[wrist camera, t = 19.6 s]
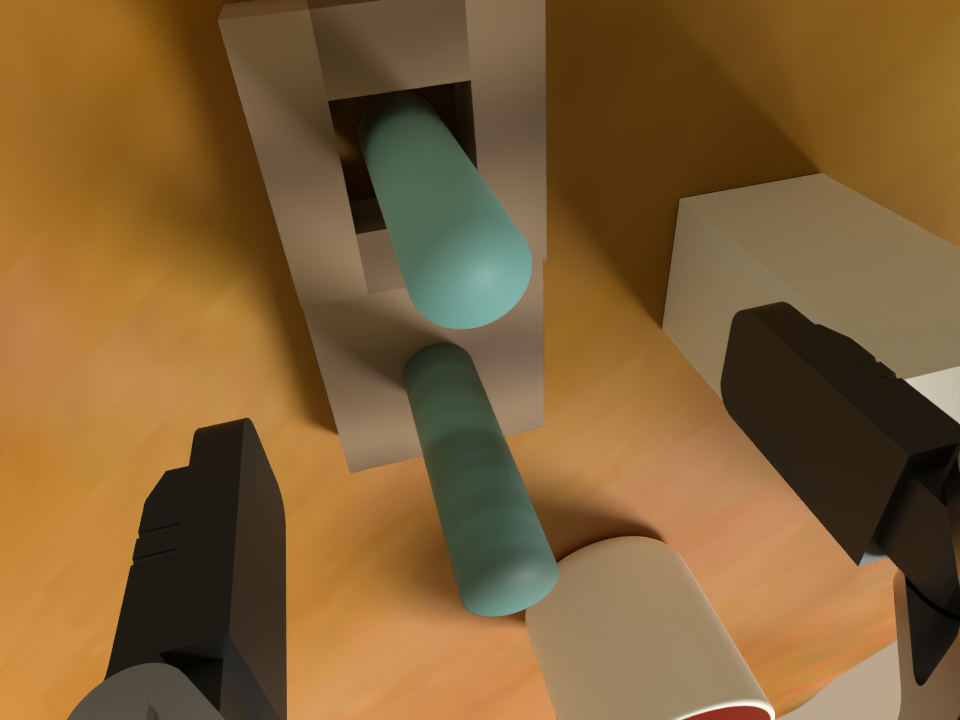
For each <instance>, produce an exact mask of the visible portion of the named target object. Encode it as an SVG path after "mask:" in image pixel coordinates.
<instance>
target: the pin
mask: <svg viewBox="0 0 960 720" xmlns="http://www.w3.org/2000/svg"><path fill="white" fill-rule="evenodd" d="M358 139H359V144H360V148H361V151H362V154H363V157H364V160H365V163H366V166H367V169H368V172H369V175H370V178H371V181H372V184H373V187H374V190H375V193H376V196H377V199H378V202H379V206H380V209H381V212H382V215H383V218H384V221H385V224H386V227H387V230H388V233H389V236H390V239H391V242H392V245H393V248H394V251H395V254H396V257H397V260H398V263H399V266H400V269H401V273H402V276H403V279H404V282H405V285H406V288H407V291H408V294H409V297H410V299H411V301H412V303H413V305H414V306H415V308H416V309H417V310H418V311H419V312H420V314H421V315H423V316H424V317H425V318H426V319H428V320H429V321H431V322H433V323H435V324H437V325H439V326H443V327H446V328H451V329H471V328H476V327H480V326H484V325H486V324H489V323H491V322H493V321H495V320H497V319H499V318H500V317H502V316H503V315H505V314H506V313H507V312H508V311H510V310H511V309H512V308H513V307H514V306H515V305H516V304H517V303H518V301H519V300H520V298H521V297H522V296H523V294H524V292H525V290H526V288H527V286H528V283H529V280H530V277H531V271H532V258H531V252H530V249H529V246H528V244H527V242H526V240H525V238H524V237H523V235H522V234H521V233H520V231H519V230H518V228H517V227H516V225H515V224H514V222H513V221H512V220H511V218H510V217H509V215H508V214H507V212H506V211H505V210H504V208H503V207H502V205H501V204H500V202H499V201H498V200H497V198H496V197H495V195H494V194H493V192H492V191H491V190H490V188H489V187H488V185H487V184H486V182H485V181H484V179H483V178H482V177H481V175H480V174H479V172H478V171H477V169H476V168H475V167H474V165H473V164H472V162H471V161H470V159H469V158H468V157H467V155H466V154H465V152H464V151H463V149H462V148H461V147H460V145H459V144H458V142H457V141H456V139H455V138H454V136H453V135H452V134H451V132H450V131H449V129H448V128H447V126H446V125H445V124H444V122H443V121H442V119H441V118H440V116H439V115H438V114H437V112H436V111H435V109H434V108H433V106H432V105H431V104H430V103H429V102H428V101H427V100H425V99H424V98H422V97H421V96H419V95H417V94H415V93H411V92H407V91H393V92H389V93H386V94H383V95H381V96H380V97H378V98H376V99H375V100H374V101H373V102H371V104H370V105H369V106H368V107H367V108H366V110H365V111H364V113H363V115H362V117H361V120H360V123H359V129H358Z"/></svg>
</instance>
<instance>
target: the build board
mask: <svg viewBox="0 0 960 720" xmlns="http://www.w3.org/2000/svg"><path fill="white" fill-rule="evenodd" d="M217 21H218V24H219V28H220V31H221V35H222V38H223V42H224V45H225V49H226V52H227V55H228V59H229V62H230V66H231V69H232V73H233V76H234V80H235V83H236V86H237V90H238V93H239V97H240V100H241V104H242V107H243V111H244V114H245V117H246V121H247V124H248V128H249V131H250V135H251V138H252V141H253V145H254V148H255V152H256V155H257V159H258V162H259V166H260V169H261V172H262V176H263V179H264V183H265V186H266V190H267V193H268V197H269V200H270V203H271V207H272V210H273V214H274V217H275V221H276V224H277V228H278V231H279V234H280V238H281V241H282V245H283V248H284V252H285V255H286V259H287V262H288V265H289V269H290V272H291V276H292V279H293V283H294V286H295V290H296V293H297V296H298V300H299V303H300V307H301V308H305V307H310V306H315V305H320V304H325V303H330V302H336V301H341V300H346V299H351V298H356V297H361V296H366V295H371V294H377V293H382V292H387V291H392V290H397V289H402V288H406V285H405V282H404V279H403V276H402V273H401V269H400V266H399V263H398V260H397V257H396V254H395V251H394V248H393V245H392V242H391V239H390V236H389V233H388V230H387V227H386V224H385V221H384V218H383V215H382V212H381V209H380V206H379V202H378V199H377V197H375V198H369V199H363V200H358V201H352V202H349V200H348V195H347V190H346V185H345V180H344V176H343V171H342V166H341V161H340V156H339V152H338V147H337V142H336V137H335V133H334V128H333V123H332V118H331V113H330V109H329V104H328V101H331V100H338V99H345V98H352V97H359V96H366V95H373V94H379V93H386V92H393V91H400V90H407V89H414V88H421V87H427V86H434V85H441V84H448V83H453V84H454V95H455V106H456V117H457V128H458V139H459V145H460V147H461V148H462V149H463V151H464V152H465V154H466V155H467V157H468V158H469V159H470V161H471V162H472V164H473V165H474V167H475V168H476V169H477V171H478V172H479V174H480V175H481V177H482V178H483V179H484V181H485V182H486V184H487V185H488V187H489V188H490V190H491V191H492V192H493V194H494V195H495V197H496V198H497V200H498V201H499V202H500V204H501V205H502V207H503V208H504V210H505V211H506V212H507V214H508V215H509V217H510V218H511V220H512V221H513V222H514V224H515V225H516V227H517V228H518V230H519V231H520V233H521V234H522V235H523V237H524V238H525V240H526V242H527V244H528V246H529V249H530V252H531V258H532V263H535V262H541V261H546V260H547V183H546V0H253V1H245V2H236V3H228V4H223V6H222V9H221V12H220V15H219V18H218V20H217Z"/></svg>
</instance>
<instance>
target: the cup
mask: <svg viewBox="0 0 960 720" xmlns="http://www.w3.org/2000/svg"><path fill="white" fill-rule="evenodd" d="M557 565H558V568H559V578H558V581H557V583H556V585H555V586H554V588H553V589H552V590H551V591H550V593H549V594H547V595H546V596H545V597H544V598H543V599H542V600H540V601H539V602H537V603H536V604H534V605H532V606H531V607H528V608H526V613H525V621H526V628H527V632H528V635H529V638H530V641H531V644H532V647H533V650H534V652H535V655H536V658H537V661H538V664H539V667H540V670H541V673H542V676H543V679H544V682H545V685H546V688H547V691H548V694H549V697H550V700H551V703H552V706H553V709H554V712H555V714H556V717H557V720H775V712H774V709H773V707H772V705H771V704H770V702H769V700H768V699H767V697H766V695H765V694H764V692H763V690H762V689H761V687H760V685H759V684H758V682H757V680H756V679H755V677H754V675H753V674H752V672H751V670H750V669H749V667H748V665H747V664H746V662H745V660H744V659H743V657H742V655H741V654H740V652H739V650H738V649H737V647H736V645H735V644H734V642H733V641H732V639H731V637H730V636H729V634H728V632H727V631H726V629H725V627H724V626H723V624H722V622H721V621H720V619H719V617H718V616H717V614H716V612H715V611H714V609H713V607H712V606H711V604H710V602H709V601H708V599H707V597H706V596H705V594H704V592H703V591H702V589H701V587H700V586H699V584H698V582H697V581H696V579H695V577H694V576H693V574H692V572H691V571H690V569H689V567H688V566H687V564H686V563H685V561H684V559H683V558H682V557H681V555H680V554H679V553H678V552H677V551H676V550H674V549H673V548H672V547H670V546H669V545H667V544H665V543H664V542H661V541H659V540H656V539H652V538H648V537H642V536H624V537H616V538H610V539H606V540H602V541H599V542H596V543H593V544H590V545H588V546H586V547H583V548H581V549H579V550H577V551H575V552H573V553H572V554H570V555H568V556H567V557H565V558H563V559H562V560H561V561H559V562H558V563H557Z"/></svg>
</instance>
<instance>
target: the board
mask: <svg viewBox="0 0 960 720" xmlns="http://www.w3.org/2000/svg"><path fill="white" fill-rule="evenodd" d="M302 309H303V312H304V316H305V319H306V322H307V326H308V329H309V333H310V336H311V340H312V343H313V347H314V350H315V354H316V357H317V361H318V364H319V367H320V371H321V374H322V378H323V381H324V385H325V388H326V392H327V395H328V399H329V402H330V406H331V409H332V412H333V416H334V419H335V423H336V426H337V430H338V433H339V437H340V440H341V444H342V447H343V451H344V454H345V458H346V461H347V464H348V468H349V471H350V473H354V472H358V471H362V470H366V469H371V468H375V467H379V466H383V465H387V464H392V463H396V462H400V461H404V460H408V459H413V458H417V457H421V456H423V457H424V460H425V464H426V468H427V472H428V476H429V479H430V483H431V487H432V491H433V495H434V498H435V502H436V506H437V510H438V514H439V517H440V521H441V525H442V529H443V533H444V536H445V540H446V544H447V548H448V552H449V555H450V559H451V563H452V567H453V571H454V574H455V578H456V582H457V586H458V590H459V593H460V597H461V601H462V604H463V606H464V607H465V608H466V609H467V610H468V611H469V612H471V613H473V614H476V615H479V616H486V617H497V616H504V615H509V614H513V613H516V612H519V611H522V610H524V609H526V608H528V607H531V606H532V605H534V604H536V603H537V602H539V601H540V600H542V599H543V598H544V597H545V596H546V595H547V594H549V593H550V591H551V590H552V589H553V588H554V586H555V585H556V583H557V581H558V578H559V568H558V565H557V563H556V560H555V558H554V555H553V553H552V551H551V548H550V546H549V543H548V541H547V538H546V536H545V534H544V531H543V529H542V526H541V524H540V522H539V519H538V517H537V514H536V512H535V510H534V507H533V505H532V502H531V500H530V498H529V495H528V493H527V490H526V488H525V485H524V483H523V481H522V478H521V476H520V473H519V471H518V469H517V466H516V464H515V461H514V459H513V457H512V454H511V452H510V449H509V447H508V444H507V442H506V440H505V436H509V435H513V434H518V433H522V432H526V431H530V430H534V429H539V428H543V427H545V420H544V316H543V261H541V262H535V263H532V271H531V277H530V280H529V283H528V286H527V288H526V290H525V292H524V294H523V296H522V297H521V298H520V300H519V301H518V303H517V304H516V305H515V306H514V307H513V308H512V309H511V310H510V311H508V312H507V313H506V314H505V315H503V316H502V317H500V318H499V319H497V320H495V321H493V322H491V323H489V324H486V325H484V326H480V327H476V328H471V329H451V328H446V327H443V326H439V325H437V324H435V323H433V322H431V321H429V320H428V319H426V318H425V317H424V316H423V315H421V314H420V312H419V311H418V310H417V309H416V308H415V306H414V305H413V303H412V301H411V299H410V297H409V294H408V291H407V288H402V289H397V290H392V291H387V292H382V293H377V294H371V295H366V296H361V297H356V298H351V299H346V300H341V301H336V302H330V303H325V304H320V305H315V306H310V307H305V308H302Z"/></svg>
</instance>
